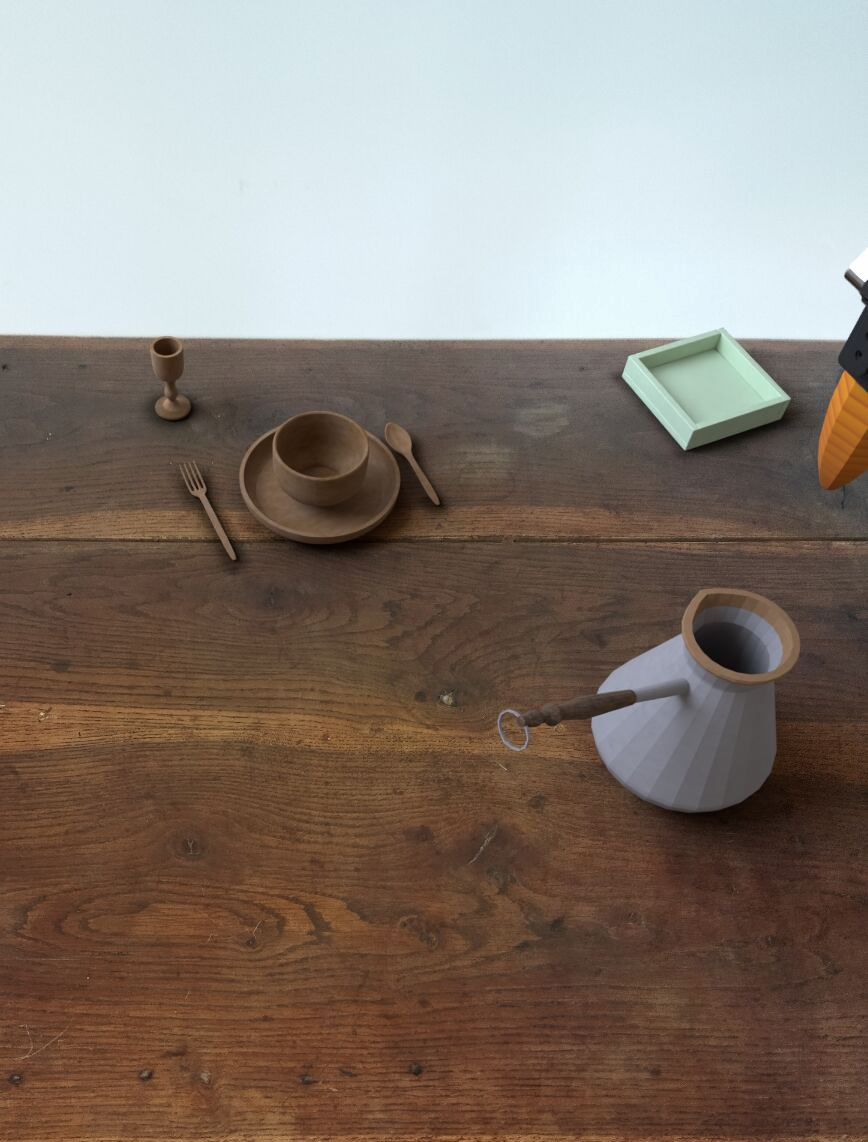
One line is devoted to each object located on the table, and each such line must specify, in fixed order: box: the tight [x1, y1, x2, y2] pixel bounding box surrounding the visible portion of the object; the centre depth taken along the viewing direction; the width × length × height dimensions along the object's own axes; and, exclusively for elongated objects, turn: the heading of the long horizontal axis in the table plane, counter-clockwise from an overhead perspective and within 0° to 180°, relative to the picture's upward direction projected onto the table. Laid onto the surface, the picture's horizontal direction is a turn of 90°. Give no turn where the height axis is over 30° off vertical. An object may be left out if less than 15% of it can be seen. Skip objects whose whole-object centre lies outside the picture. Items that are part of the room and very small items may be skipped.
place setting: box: [149, 335, 440, 561], centre depth 80 cm, size 18×20×6 cm
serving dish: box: [621, 327, 792, 452], centre depth 86 cm, size 9×9×2 cm
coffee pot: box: [497, 587, 801, 814], centre depth 62 cm, size 21×12×15 cm, turn 118°
